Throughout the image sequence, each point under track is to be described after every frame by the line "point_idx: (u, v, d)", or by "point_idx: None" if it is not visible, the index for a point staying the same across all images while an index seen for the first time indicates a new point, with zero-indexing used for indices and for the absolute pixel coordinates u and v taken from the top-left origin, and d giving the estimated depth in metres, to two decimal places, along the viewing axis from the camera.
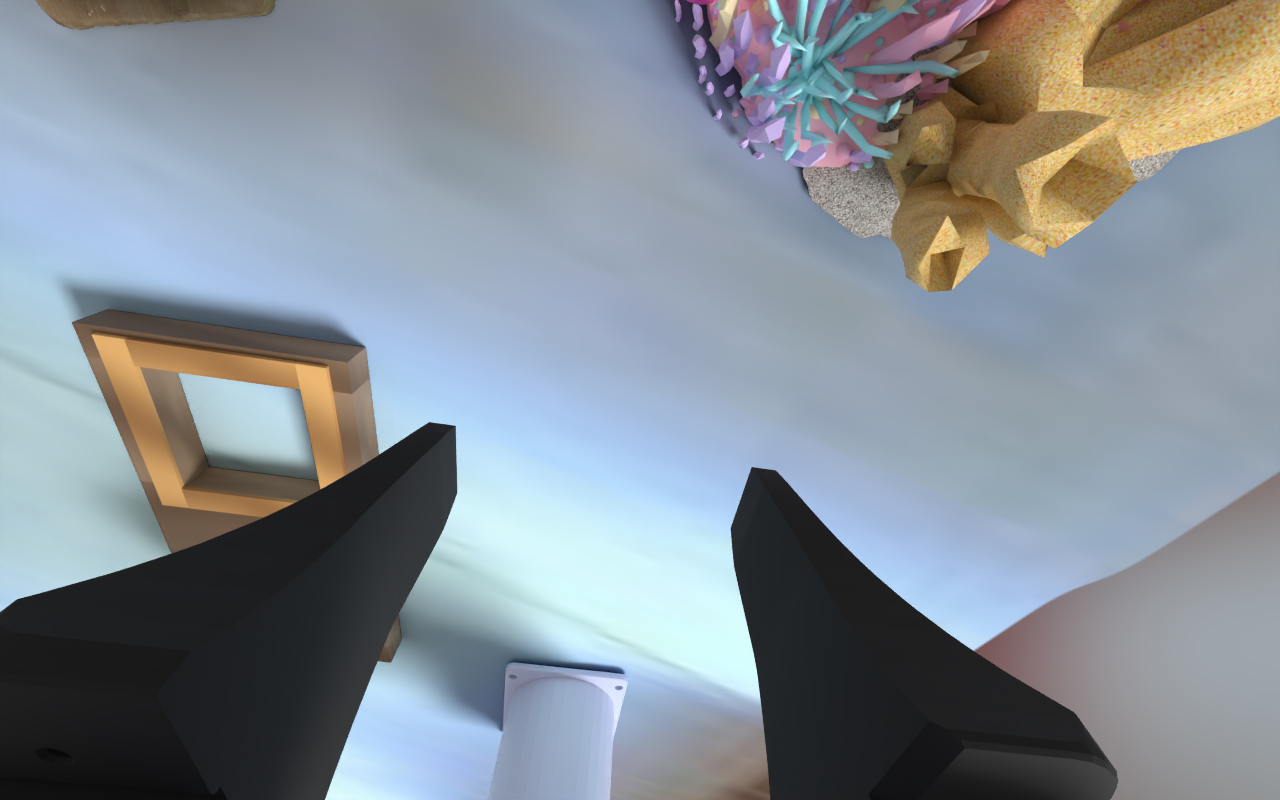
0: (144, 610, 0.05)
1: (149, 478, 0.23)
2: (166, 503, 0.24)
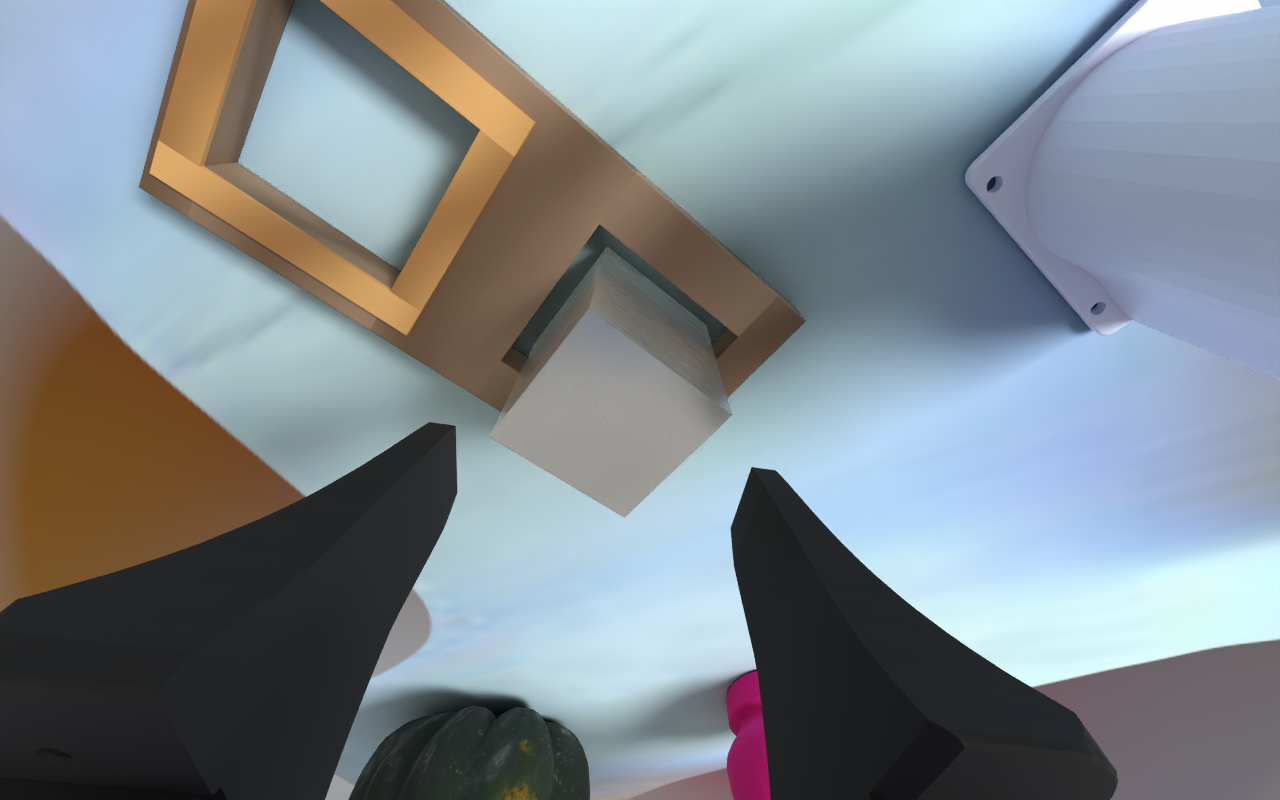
0: (144, 610, 0.05)
1: (369, 317, 0.18)
2: (407, 330, 0.19)
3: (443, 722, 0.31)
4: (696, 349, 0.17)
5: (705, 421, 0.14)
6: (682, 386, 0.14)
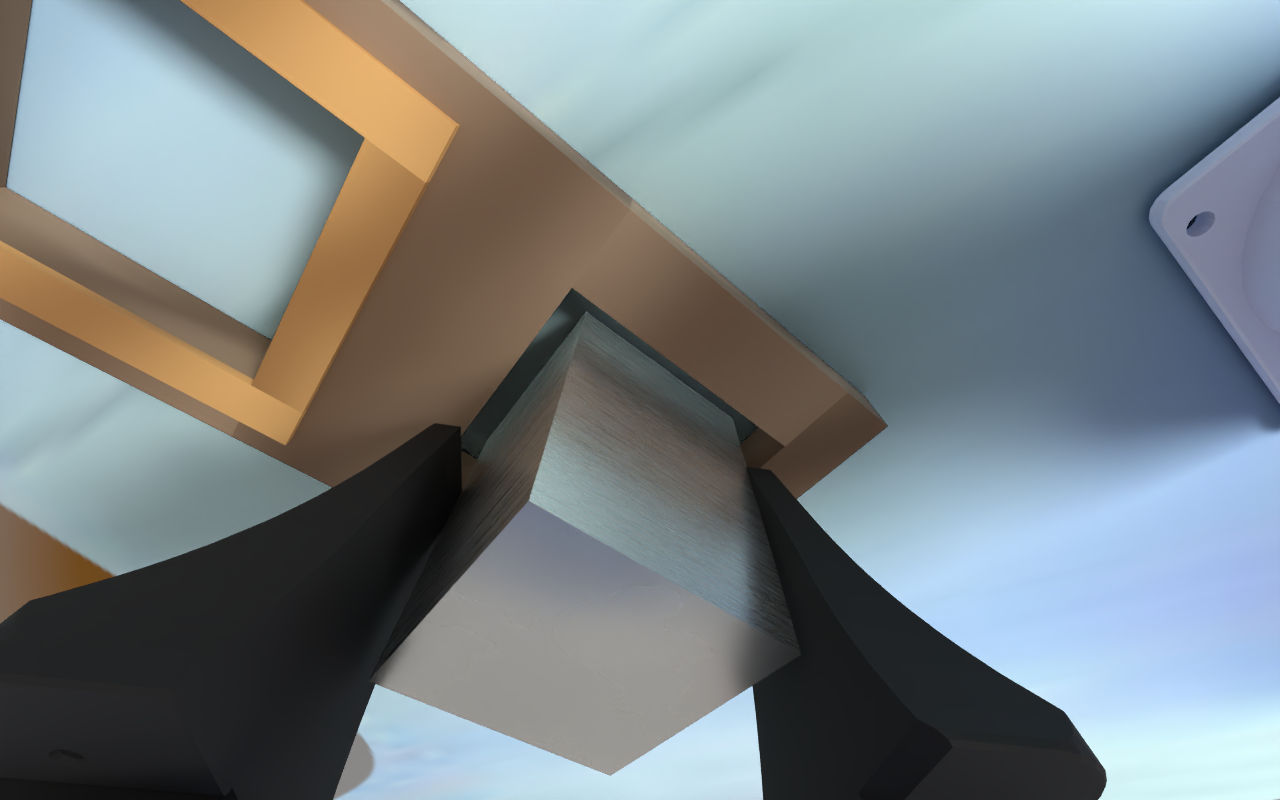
0: (157, 612, 0.05)
1: (228, 419, 0.12)
2: (286, 438, 0.12)
3: None
4: (726, 489, 0.10)
5: (752, 664, 0.08)
6: (713, 616, 0.07)
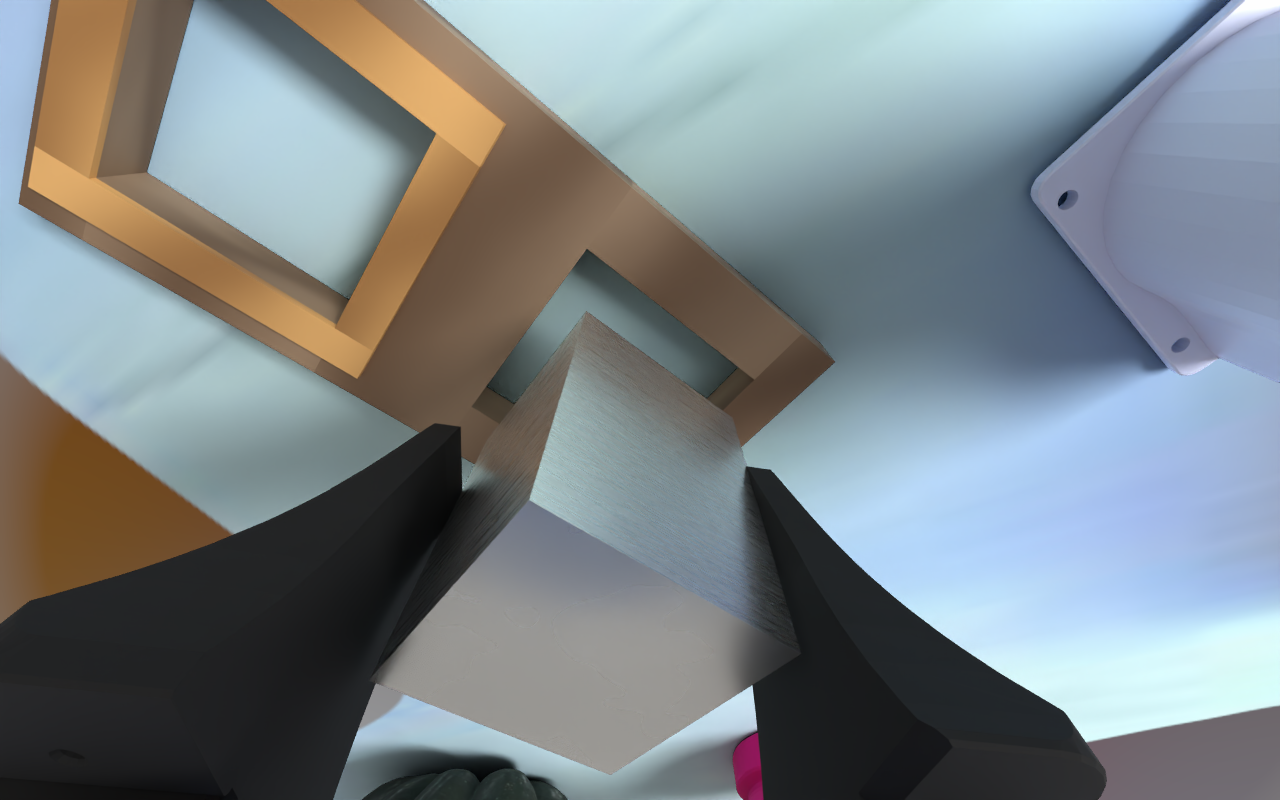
0: (157, 612, 0.05)
1: (312, 357, 0.15)
2: (358, 373, 0.15)
3: (419, 789, 0.28)
4: (726, 489, 0.10)
5: (752, 664, 0.08)
6: (713, 615, 0.07)
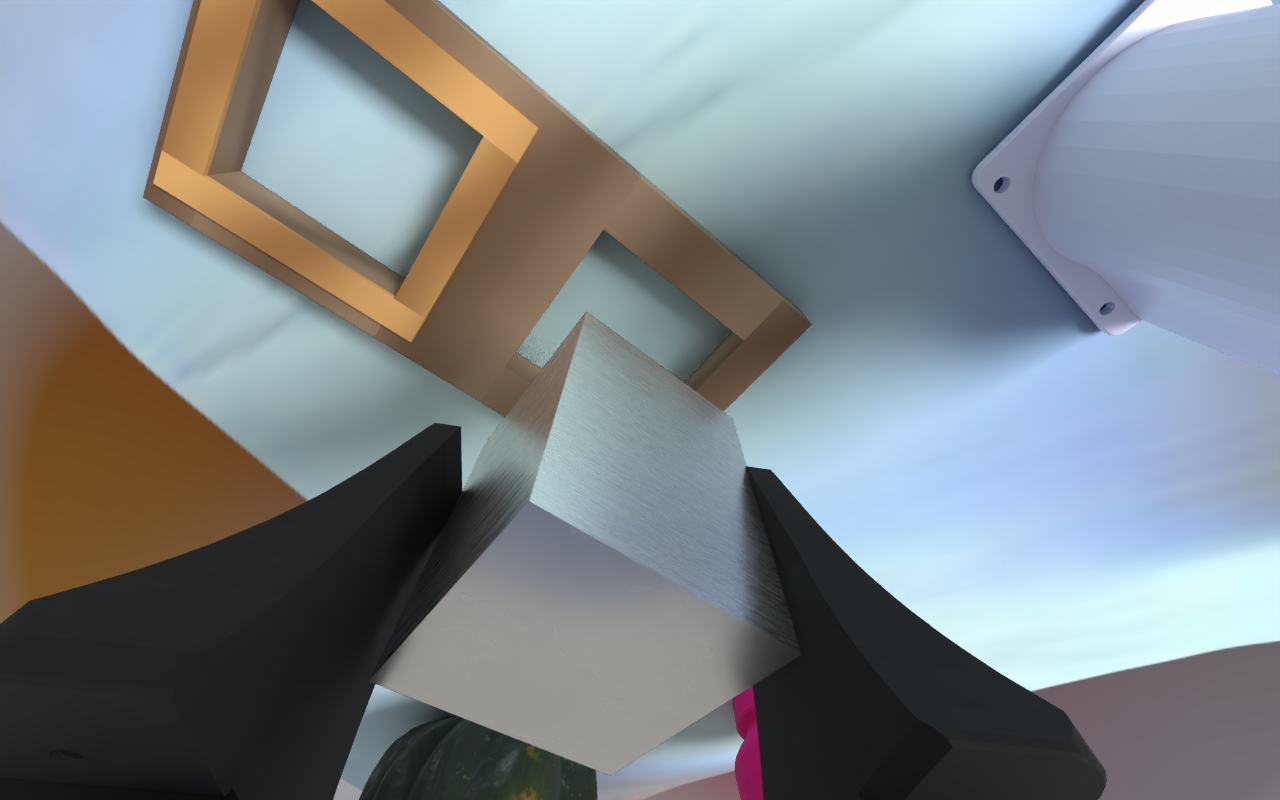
0: (156, 612, 0.05)
1: (374, 324, 0.18)
2: (411, 337, 0.18)
3: (450, 727, 0.31)
4: (727, 489, 0.10)
5: (752, 664, 0.08)
6: (713, 616, 0.07)
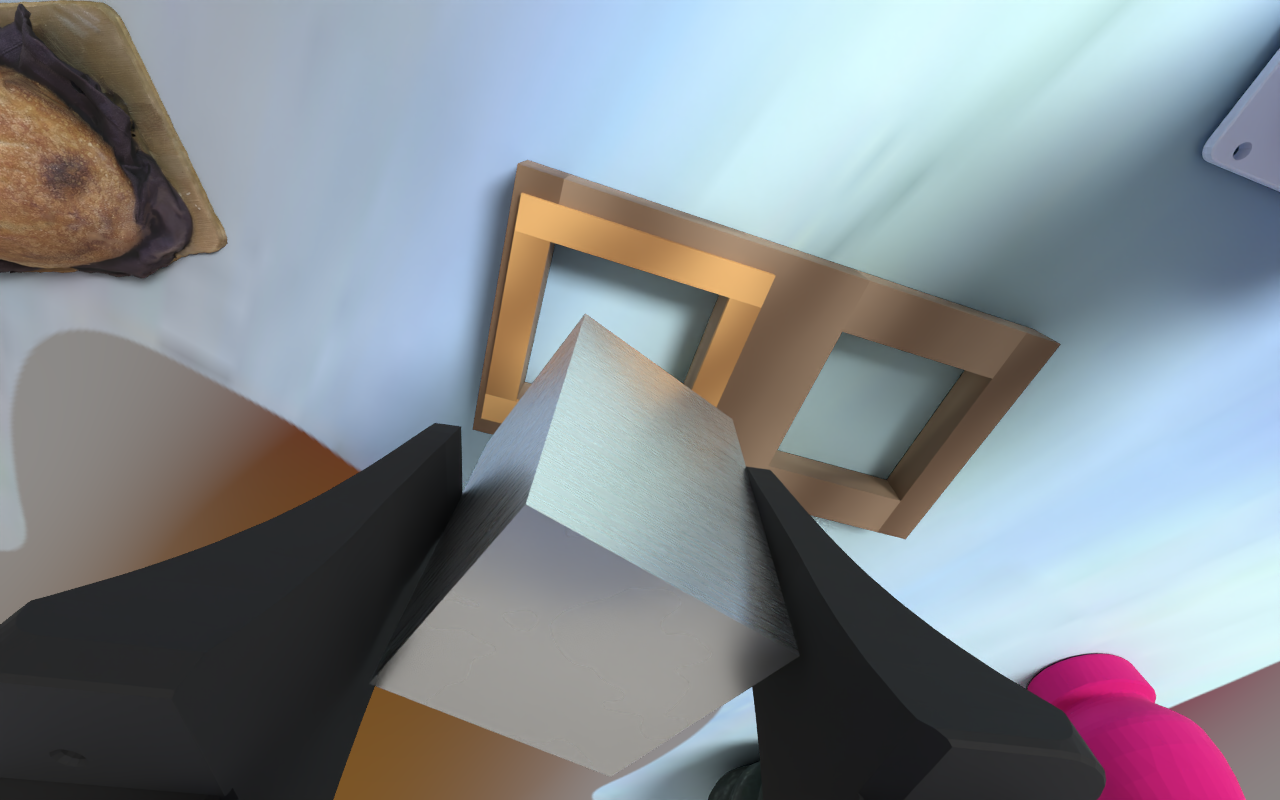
0: (157, 613, 0.05)
1: None
2: None
3: (759, 774, 0.34)
4: (725, 491, 0.10)
5: (751, 666, 0.08)
6: (711, 618, 0.07)
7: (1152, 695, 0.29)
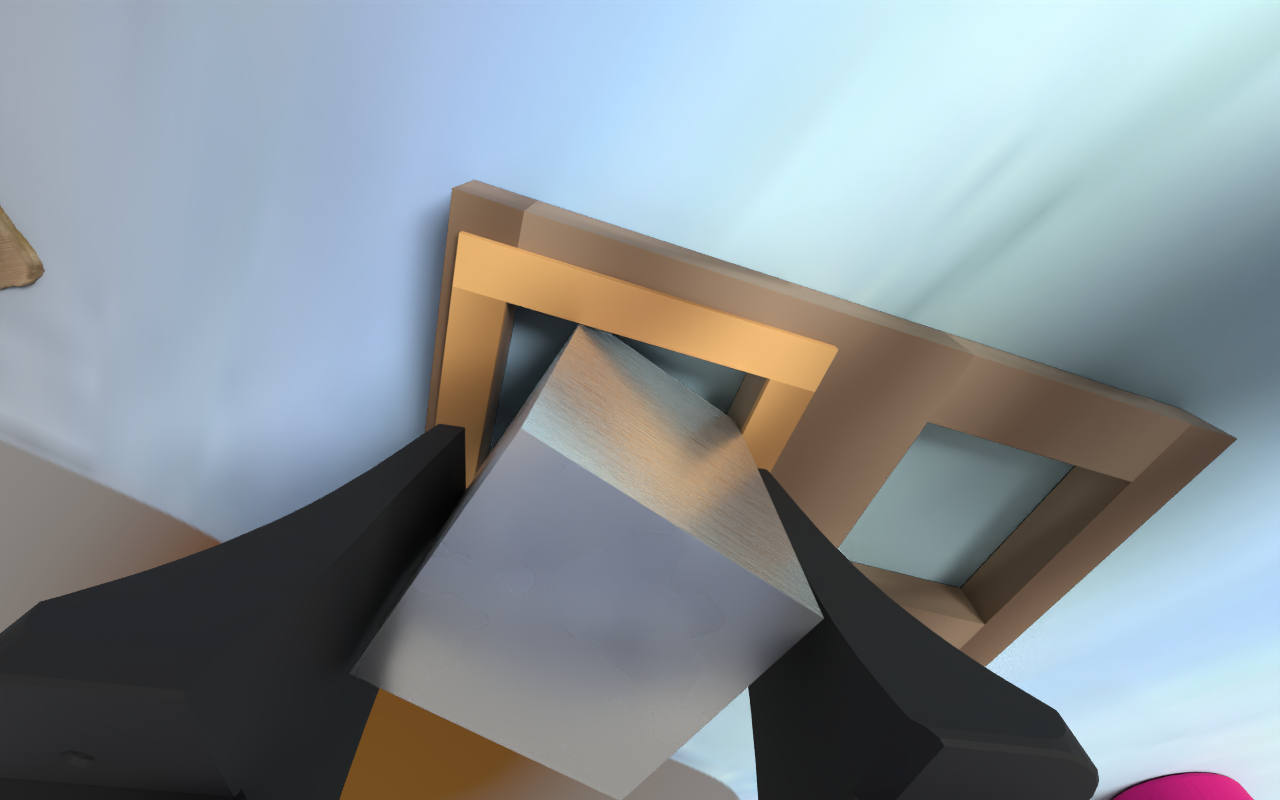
0: (166, 612, 0.05)
1: None
2: None
3: None
4: (733, 471, 0.10)
5: (770, 633, 0.07)
6: (724, 570, 0.07)
7: None
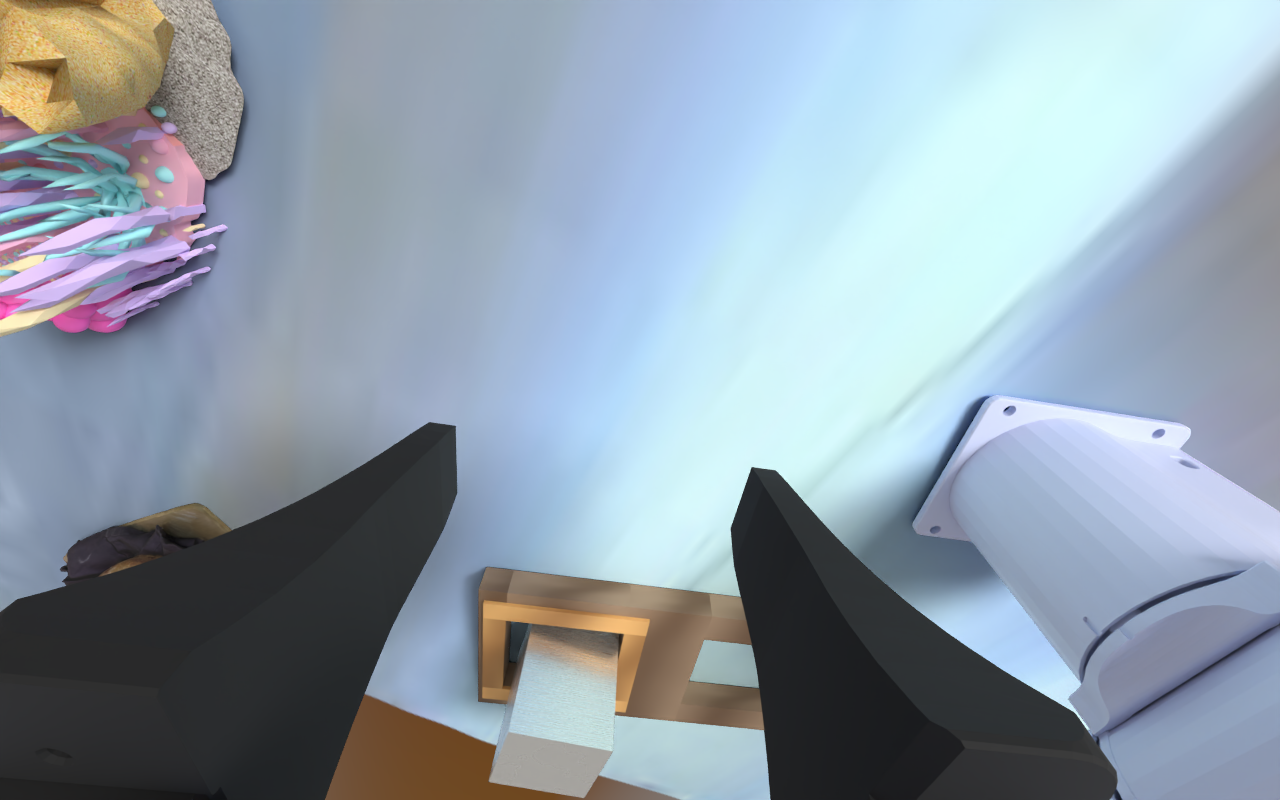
0: (144, 610, 0.05)
1: None
2: (624, 710, 0.31)
3: None
4: (599, 679, 0.26)
5: (599, 757, 0.24)
6: (577, 746, 0.23)
7: None
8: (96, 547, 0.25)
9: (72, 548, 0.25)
